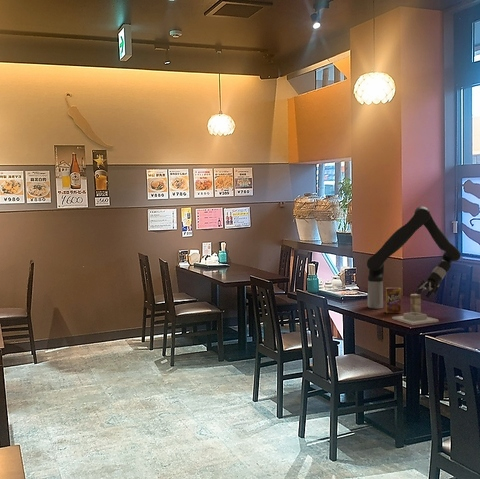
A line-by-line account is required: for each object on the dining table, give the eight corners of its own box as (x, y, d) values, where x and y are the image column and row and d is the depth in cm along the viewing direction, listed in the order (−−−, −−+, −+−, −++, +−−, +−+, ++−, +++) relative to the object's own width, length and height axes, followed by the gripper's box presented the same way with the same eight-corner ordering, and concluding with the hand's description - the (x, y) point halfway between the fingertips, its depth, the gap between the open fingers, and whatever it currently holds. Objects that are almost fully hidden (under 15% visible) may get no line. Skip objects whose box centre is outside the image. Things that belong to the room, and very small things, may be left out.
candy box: (385, 313, 354) (385, 288, 353) (385, 311, 358) (385, 287, 357) (400, 313, 352) (401, 288, 351) (400, 311, 357) (400, 287, 355)
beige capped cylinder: (410, 314, 349) (410, 294, 348) (415, 313, 351) (415, 293, 350) (415, 315, 345) (415, 295, 344) (420, 314, 347) (420, 294, 346)
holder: (392, 319, 337) (392, 312, 336) (417, 315, 344) (417, 309, 343) (412, 325, 320) (412, 318, 320) (438, 321, 327) (438, 315, 327)
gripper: (425, 270, 358) (410, 290, 354) (441, 273, 345) (426, 293, 341) (432, 278, 360) (417, 298, 357) (448, 281, 347) (433, 301, 344)
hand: (421, 295), depth 349 cm, fingers open, 8 cm apart
